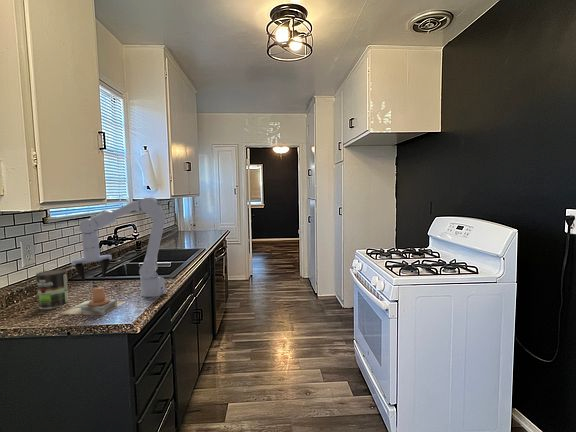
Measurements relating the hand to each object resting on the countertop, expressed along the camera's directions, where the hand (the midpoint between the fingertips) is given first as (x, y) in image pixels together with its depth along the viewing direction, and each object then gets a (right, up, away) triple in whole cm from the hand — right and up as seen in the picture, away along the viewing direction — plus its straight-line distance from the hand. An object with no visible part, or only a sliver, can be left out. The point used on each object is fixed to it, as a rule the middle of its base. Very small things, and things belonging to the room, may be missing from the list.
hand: (93, 278), depth 136 cm
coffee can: (-16, -11, -1) cm, 19 cm away
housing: (+6, -11, -9) cm, 15 cm away
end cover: (+9, -10, -11) cm, 18 cm away
